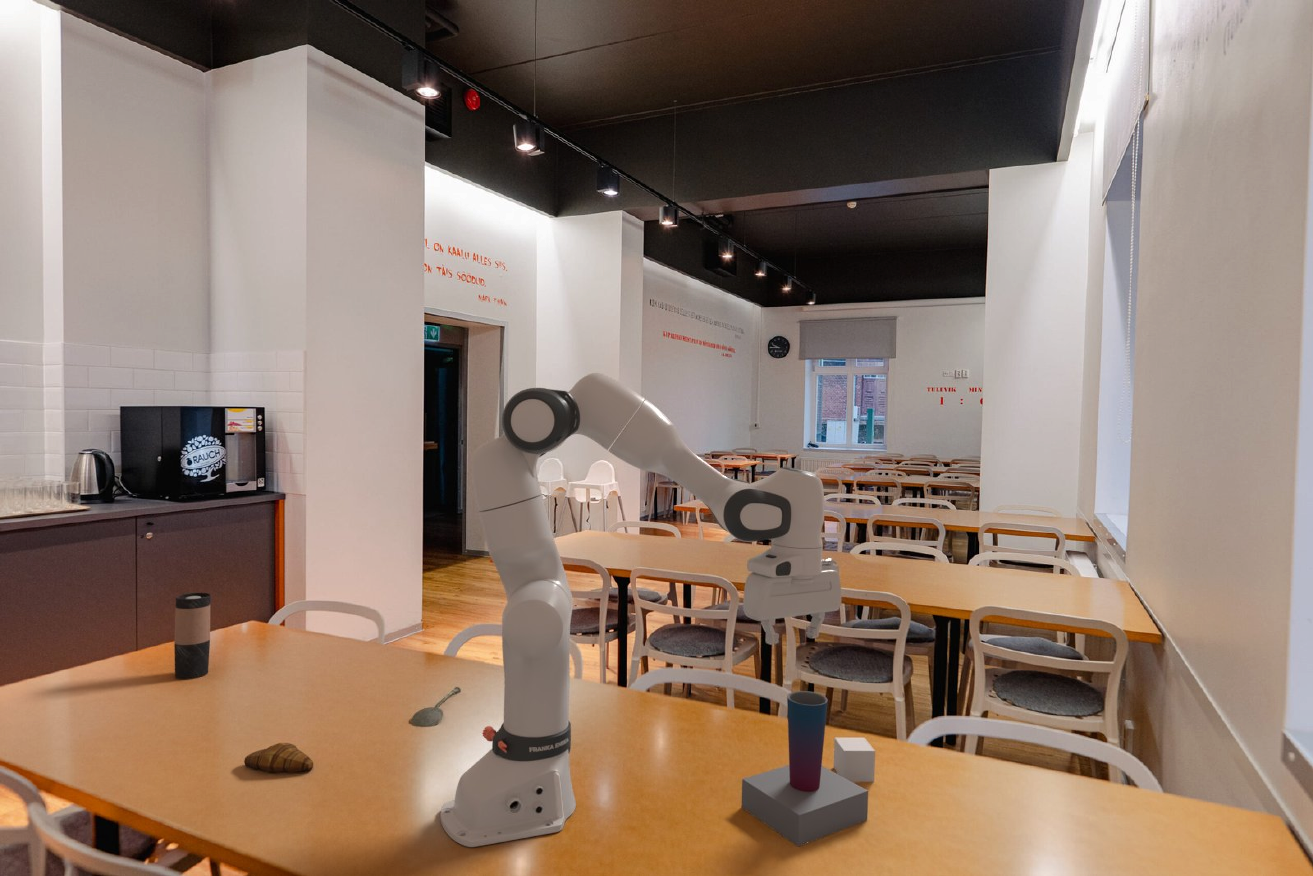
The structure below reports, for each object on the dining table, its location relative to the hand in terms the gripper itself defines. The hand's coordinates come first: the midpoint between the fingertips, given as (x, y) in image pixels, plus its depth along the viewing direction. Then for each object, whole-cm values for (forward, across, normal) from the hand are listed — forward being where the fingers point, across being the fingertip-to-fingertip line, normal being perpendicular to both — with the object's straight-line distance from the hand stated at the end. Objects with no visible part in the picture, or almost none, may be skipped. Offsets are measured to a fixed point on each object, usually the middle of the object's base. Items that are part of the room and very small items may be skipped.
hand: (792, 640), depth 129 cm
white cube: (+29, -20, -3) cm, 36 cm away
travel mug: (+32, +87, -124) cm, 155 cm away
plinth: (+29, -1, +3) cm, 29 cm away
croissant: (+31, +73, -58) cm, 98 cm away
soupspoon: (+31, +39, -73) cm, 88 cm away
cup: (+24, -1, +3) cm, 25 cm away
